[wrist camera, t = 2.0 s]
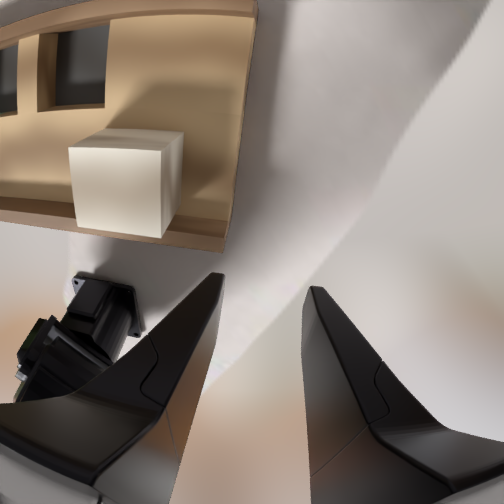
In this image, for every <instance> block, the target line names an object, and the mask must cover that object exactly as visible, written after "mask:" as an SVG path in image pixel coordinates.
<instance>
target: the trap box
mask: <svg viewBox="0 0 504 504" xmlns="http://www.w3.org/2000/svg"><path fill="white" fill-rule="evenodd" d="M258 11H259V9H258V5H257V0H93V1H88V2H83V3H78V4H74V5H70V6H66V7H62V8H58V9H54V10H51V11H47V12H44V13H41V14H37V15H34V16H31V17H28V18H25V19H22V20H20V21H17V22H14V23H11V24H9V25H6V26H4V27H1V28H0V221H4V222H10V223H18V224H24V225H30V226H37V227H44V228H51V229H58V230H64V231H71V232H78V233H85V234H92V235H99V236H106V237H113V238H120V239H126V240H133V241H140V242H147V243H154V244H161V245H169V246H176V247H183V248H190V249H197V250H204V251H211V252H218V253H223V250H224V246H225V242H226V238H227V233H228V229H229V225H230V221H231V217H232V208H233V199H234V191H235V182H236V173H237V165H238V157H239V149H240V140H241V132H242V125H243V117H244V109H245V102H246V94H247V87H248V79H249V72H250V65H251V58H252V51H253V44H254V37H255V30H256V24H257V17H258ZM105 128H111V129H147V130H166V131H181V132H184V141H183V160H182V183H181V205H180V206H179V208H178V210H177V211H176V213H175V215H174V217H173V218H172V220H171V222H170V224H169V225H168V227H167V229H166V231H165V232H164V234H163V236H162V238H155V237H148V236H141V235H134V234H126V233H119V232H112V231H105V230H97V229H90V228H83V227H78V226H77V220H76V213H75V206H74V199H73V191H72V183H71V173H70V163H69V150H68V147H70V146H72V145H74V144H75V143H77V142H79V141H81V140H83V139H85V138H87V137H89V136H91V135H93V134H95V133H97V132H99V131H101V130H103V129H105Z"/></svg>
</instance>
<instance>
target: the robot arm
mask: <svg viewBox="0 0 504 504" xmlns="http://www.w3.org/2000/svg"><path fill="white" fill-rule="evenodd" d="M72 284H73V287H74V291H75V294H76V295H75V297H74V298H73V300H72V301H71V303H70V304H69V306H68V307H67V312H66V314H65V315H64V317H63V318H62V320H61V321H60V322H59V321H58V320H56V319H57V318H56V317H54V316H53V315H51V317H50V318H49V319H48V320H46V319H41V318H39V319H38V321H37V322H36V324H35V325H34V327H33V329H32V330H31V332H30V333H29V335H28V336H27V338H26V340H25V341H24V343H23V344H22V346H21V347H20V349H19V351H18V353H17V358H18V362H19V364H18V366H17V368H18V371H17V373H16V375H15V377H17V378H18V379H19V380H21V381H22V382H21V384H20V386H19V388H18V390H17V392H16V393H15V396H14V399H13V403H6V404H5V403H3V404H0V504H169V501H170V498H171V494H172V491H173V487H174V484H175V480H176V477H177V474H178V470H179V466H180V463H181V460H182V456H183V452H184V449H185V446H186V443H187V439H188V435H189V432H190V429H191V425H192V422H193V418H194V415H195V412H196V408H197V405H198V402H199V398H200V395H201V392H202V388H203V385H204V381H205V378H206V375H207V371H208V368H209V365H210V361H211V358H212V355H213V351H214V348H215V344H216V339H217V333H218V327H219V321H220V314H221V308H222V302H223V294H224V284H225V275H224V274H222V273H215V272H212V273H210V274H209V275H208V276H207V277H206V278H205V279H204V280H203V281H202V282H201V283H200V284H199V285H198V286H197V287H196V288H195V289H194V290H193V291H192V292H191V293H189V294H188V295H187V296H186V297H185V298H184V299H183V300H182V301H181V302H180V303H179V304H178V305H177V306H176V307H175V308H174V309H173V310H172V311H171V312H170V313H169V314H168V315H167V316H166V317H164V318H163V319H162V320H161V321H160V322H159V323H158V324H157V325H156V326H155V327H154V328H153V329H152V330H151V331H150V332H149V333H148V335H146V336H145V337H144V338H143V339H142V340H141V341H140V342H138V343H137V344H136V345H135V346H134V347H133V348H132V349H131V350H130V351H129V352H127V353H126V354H125V355H124V356H122V357H121V358H120V359H119V360H117V359H118V356H119V354H120V351H121V349H122V346H123V344H124V342H125V339H126V337H127V336H131V337H136V338H139V337H141V334H142V331H141V325H140V319H139V313H138V307H137V300H136V293H135V289H134V288H133V287H131V286H127V285H122V284H117V283H111V282H106V281H101V280H96V279H91V278H86V277H81V276H74V277H73V279H72ZM129 291H130V292H129ZM301 358H302V369H303V381H304V394H305V406H306V420H307V435H308V450H309V467H310V477H311V478H310V490H311V504H504V442H500V441H495V440H491V439H487V438H482V437H478V436H474V435H470V434H466V433H462V432H458V431H455V430H451V429H449V428H447V427H445V426H444V425H442V424H441V423H440V422H438V421H437V420H436V419H435V418H434V417H433V416H432V415H431V414H430V413H429V412H428V411H427V409H425V407H424V406H423V405H422V404H421V403H420V402H419V401H418V400H417V399H416V398H415V397H414V396H413V395H412V394H411V393H410V392H409V391H408V390H407V388H406V387H405V386H404V385H403V384H402V383H401V382H400V381H399V380H398V378H397V377H396V376H395V375H394V373H393V372H392V371H391V370H390V369H389V368H388V366H387V365H386V364H385V362H384V361H382V359H381V357H380V356H379V355H378V354H377V352H376V351H375V350H374V349H373V347H372V346H371V345H370V344H369V342H368V341H367V340H366V339H365V337H364V336H363V335H362V334H361V333H360V331H359V330H358V329H357V328H356V326H355V325H354V324H353V323H352V321H351V320H350V319H349V318H348V317H347V315H346V314H345V313H344V312H343V311H342V309H341V308H340V307H339V306H338V304H337V303H336V302H335V301H334V300H333V298H332V297H331V296H330V295H329V294H328V293H327V291H326V290H325V289H324V288H323V287H319V286H310V287H309V289H308V292H307V295H306V299H305V302H304V305H303V310H302V342H301Z"/></svg>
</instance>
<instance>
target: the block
mask: <svg viewBox="0 0 504 504" xmlns="http://www.w3.org/2000/svg"><path fill="white" fill-rule="evenodd" d="M183 141H184V132H181V131H166V130H147V129H111V128H105V129H103V130H101V131H99V132H97V133H95V134H93V135H91V136H89V137H87V138H85V139H83V140H81V141H79V142H77V143H75V144H74V145H72V146H70V147H68V150H69V163H70V173H71V183H72V191H73V199H74V206H75V213H76V220H77V226H78V227H83V228H90V229H97V230H105V231H112V232H119V233H126V234H134V235H141V236H148V237H155V238H162V236H163V234H164V232H165V231H166V229H167V227H168V225H169V224H170V222H171V220H172V218H173V217H174V215H175V213H176V211H177V210H178V208H179V206H180V205H181V183H182V160H183Z"/></svg>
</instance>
